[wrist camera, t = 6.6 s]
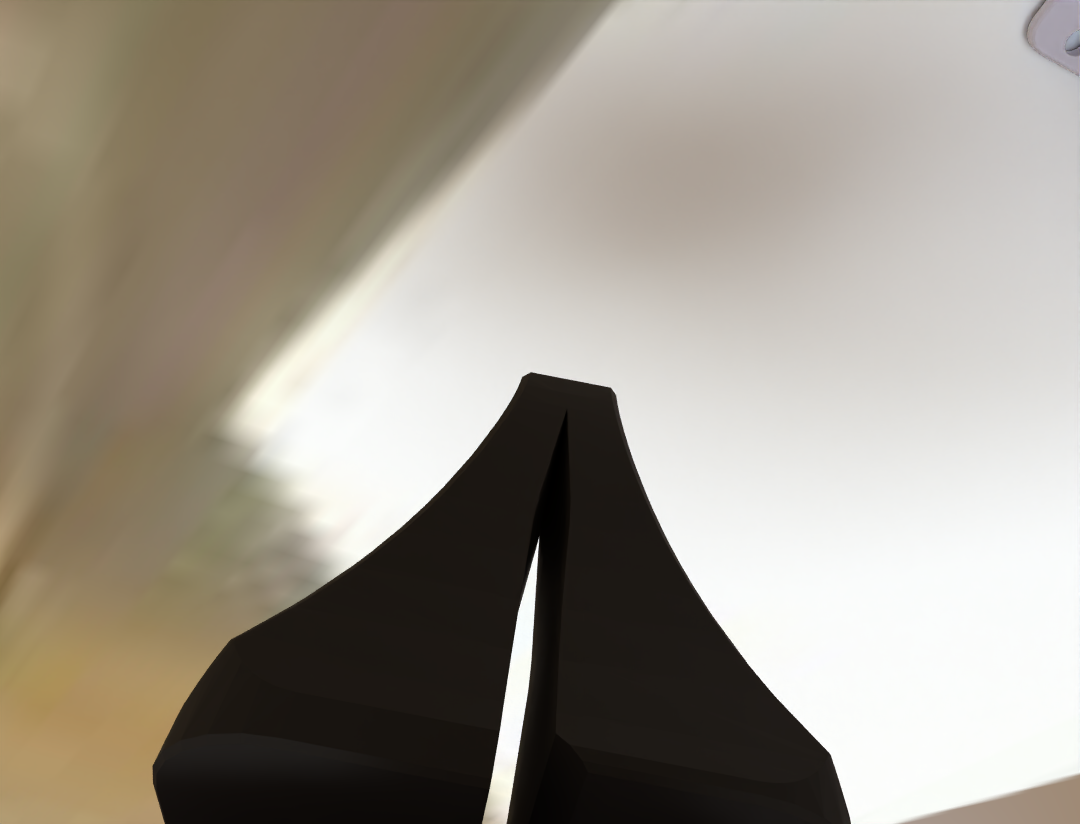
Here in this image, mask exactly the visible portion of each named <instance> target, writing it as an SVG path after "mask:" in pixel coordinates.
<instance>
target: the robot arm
mask: <svg viewBox="0 0 1080 824" xmlns="http://www.w3.org/2000/svg"><path fill="white" fill-rule="evenodd" d="M1079 30H1080V0H1046V2H1045V3H1044V4H1043V5H1042V7H1041V8H1040V9H1039V11H1038V12H1037V13H1036V14H1035V16H1034V17H1033V19H1032V21H1031V23H1030V24H1029V26H1028V33H1027V38H1028V41H1029V44H1030V45H1031V46H1032V47H1033V48H1034V49H1035V50H1036V51H1037V52H1038V53H1039V54H1040V55H1042V56H1044V57H1046V58H1048V59H1049V60H1051V61H1053V62H1055V63H1057V64H1058V65H1060V66H1062V67H1064V68H1066V69H1068V70H1069V71H1071V72H1073V73H1075V74H1077V75H1078V76H1080V46H1079V47H1078V48H1077V49H1075V50H1071V51H1065V43H1066V41H1067V39H1068V37H1069V36H1070V35H1072V34H1073V33H1074V32H1075V31H1079ZM538 539H539V551H538V566H537V582H536V598H535V614H534V629H533V645H532V661H531V671H530V680H529V689H528V696H527V702H526V708H525V715H524V721H523V727H522V733H521V740H520V746H519V752H518V758H517V764H516V770H515V776H514V783H513V789H512V795H511V801H510V807H509V813H508V819H507V824H851V821H850V817H849V813H848V809H847V806H846V803H845V799H844V796H843V792H842V789H841V786H840V783H839V779H838V776H837V773H836V770H835V767H834V764H833V761H832V758H831V755H830V754H829V752H828V751H827V750H826V749H825V748H824V747H823V746H822V745H821V744H820V743H819V742H818V741H817V740H816V739H815V738H814V737H813V736H812V735H811V734H810V733H809V732H808V730H807V729H806V728H805V727H804V726H803V725H802V724H801V723H800V722H799V721H798V720H797V719H796V718H795V717H794V716H793V715H792V714H791V713H790V712H789V711H788V710H787V709H786V708H785V707H784V705H783V704H782V703H781V702H780V701H779V700H778V699H777V698H776V697H775V696H774V695H773V694H772V692H771V691H770V690H769V689H768V688H767V687H766V685H765V684H764V683H763V682H762V681H761V679H760V678H759V677H758V676H757V675H756V673H755V672H754V671H753V670H752V669H751V667H750V666H749V665H748V664H747V662H746V661H745V659H744V658H743V657H742V655H741V654H740V653H739V651H738V650H737V649H736V647H735V646H734V644H733V643H732V642H731V640H730V639H729V638H728V636H727V635H726V634H725V632H724V631H723V630H722V628H721V627H720V625H719V624H718V623H717V621H716V620H715V619H714V617H713V616H712V614H711V613H710V611H709V610H708V608H707V607H706V605H705V604H704V602H703V601H702V599H701V597H700V596H699V594H698V593H697V591H696V590H695V588H694V586H693V585H692V583H691V581H690V580H689V578H688V576H687V575H686V573H685V571H684V569H683V568H682V566H681V564H680V563H679V561H678V559H677V557H676V555H675V553H674V552H673V550H672V548H671V546H670V544H669V542H668V540H667V538H666V536H665V534H664V532H663V530H662V528H661V526H660V524H659V522H658V519H657V517H656V515H655V513H654V511H653V509H652V506H651V504H650V502H649V499H648V497H647V495H646V492H645V490H644V487H643V485H642V482H641V479H640V477H639V474H638V472H637V469H636V466H635V464H634V461H633V458H632V455H631V452H630V449H629V446H628V443H627V440H626V436H625V433H624V430H623V426H622V422H621V418H620V414H619V410H618V405H617V398H616V395H615V393H614V392H613V390H612V389H611V388H610V387H604V386H599V385H594V384H589V383H584V382H578V381H573V380H568V379H563V378H558V377H552V376H547V375H542V374H537V373H532V372H531V373H529V374H527V375H525V376H523V377H522V379H521V382H520V384H519V387H518V389H517V391H516V393H515V394H514V396H513V398H512V400H511V402H510V403H509V405H508V406H507V408H506V410H505V411H504V413H503V414H502V416H501V417H500V419H499V420H498V422H497V423H496V424H495V426H494V427H493V428H492V430H491V431H490V432H489V434H488V435H487V436H486V438H485V439H484V440H483V442H482V443H481V444H480V445H479V447H478V448H477V449H476V451H475V452H474V453H473V454H472V456H471V457H470V458H469V459H468V460H467V461H466V462H465V464H464V465H463V466H462V467H461V468H460V469H459V470H458V471H457V473H456V474H455V475H454V476H453V477H452V478H451V479H450V480H449V482H448V483H447V484H446V485H445V486H444V487H443V488H442V489H441V490H440V491H439V492H438V493H437V494H436V495H435V496H434V497H433V498H432V499H431V500H430V501H429V502H428V503H427V504H426V505H425V506H424V507H423V508H422V509H421V510H420V511H419V512H418V513H417V514H415V515H414V516H413V517H412V518H411V519H410V520H409V521H408V522H407V523H406V524H404V525H403V526H402V527H401V528H400V529H399V530H397V531H396V532H395V533H394V534H393V535H391V536H390V537H389V538H388V539H386V540H385V541H384V542H383V543H382V544H380V545H379V546H378V547H377V548H376V549H374V550H373V551H372V552H370V553H369V554H368V555H367V556H365V557H364V558H363V559H361V560H360V561H359V562H357V563H356V564H355V565H353V566H352V567H350V568H349V569H347V570H346V571H344V572H343V573H341V574H340V575H338V576H337V577H335V578H334V579H332V580H331V581H329V582H328V583H327V584H325V585H324V586H322V587H321V588H319V589H318V590H316V591H315V592H313V593H312V594H310V595H309V596H307V597H306V598H304V599H302V600H301V601H299V602H297V603H296V604H294V605H293V606H291V607H289V608H287V609H285V610H284V611H282V612H280V613H278V614H276V615H275V616H273V617H271V618H269V619H268V620H266V621H264V622H262V623H260V624H259V625H257V626H255V627H253V628H251V629H250V630H248V631H246V632H244V633H242V634H241V635H239V636H237V637H235V638H233V639H231V640H230V641H229V642H228V644H227V645H226V646H225V647H224V648H223V650H222V651H221V652H220V654H219V655H218V656H217V657H216V659H215V660H214V661H213V663H212V664H211V665H210V667H209V668H208V669H207V671H206V672H205V674H204V675H203V676H202V678H201V679H200V681H199V682H198V684H197V685H196V687H195V688H194V690H193V691H192V693H191V694H190V696H189V697H188V699H187V700H186V702H185V703H184V705H183V707H182V709H181V710H180V712H179V714H178V716H177V718H176V720H175V722H174V724H173V726H172V728H171V730H170V732H169V734H168V736H167V738H166V740H165V742H164V744H163V746H162V748H161V750H160V752H159V754H158V756H157V758H156V760H155V762H154V764H153V784H154V788H155V791H156V795H157V798H158V802H159V805H160V809H161V812H162V815H163V819H164V822H165V824H482V821H483V816H484V812H485V807H486V803H487V798H488V794H489V789H490V784H491V779H492V773H493V767H494V761H495V755H496V750H497V744H498V738H499V732H500V726H501V719H502V712H503V705H504V699H505V692H506V686H507V679H508V673H509V666H510V660H511V653H512V647H513V640H514V634H515V628H516V622H517V615H518V610H519V607H520V603H521V600H522V596H523V593H524V589H525V586H526V582H527V578H528V575H529V571H530V568H531V564H532V561H533V557H534V553H535V550H536V546H537V543H538Z"/></svg>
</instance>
